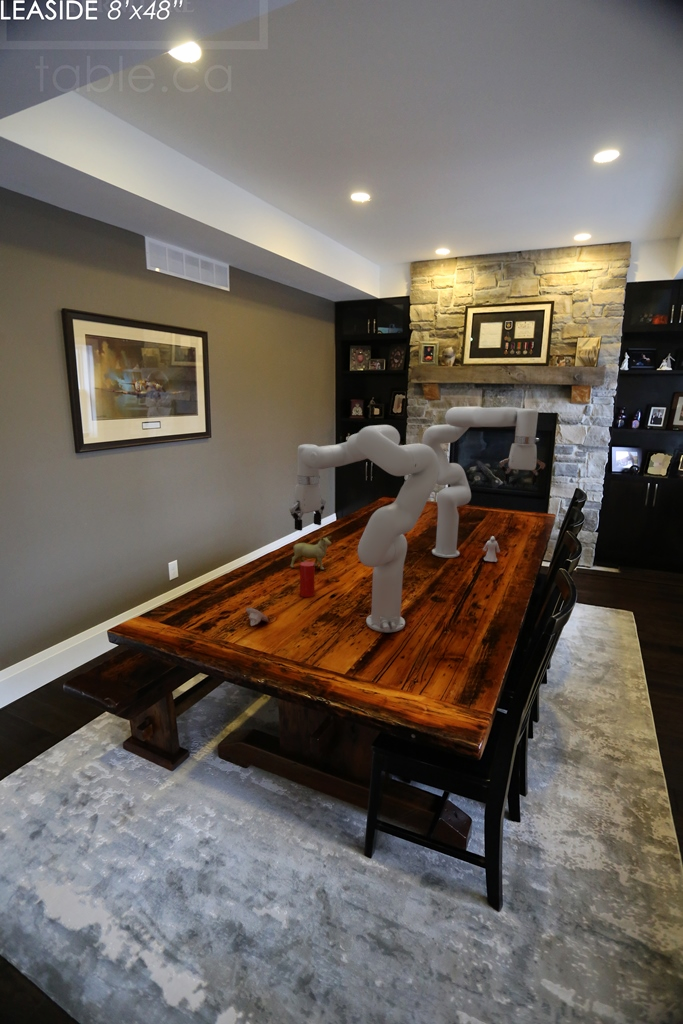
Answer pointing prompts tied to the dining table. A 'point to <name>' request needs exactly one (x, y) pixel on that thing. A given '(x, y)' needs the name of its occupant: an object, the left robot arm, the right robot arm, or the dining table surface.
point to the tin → (307, 579)
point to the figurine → (491, 550)
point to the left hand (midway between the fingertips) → (308, 527)
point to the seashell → (255, 616)
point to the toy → (311, 551)
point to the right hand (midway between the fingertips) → (519, 483)
